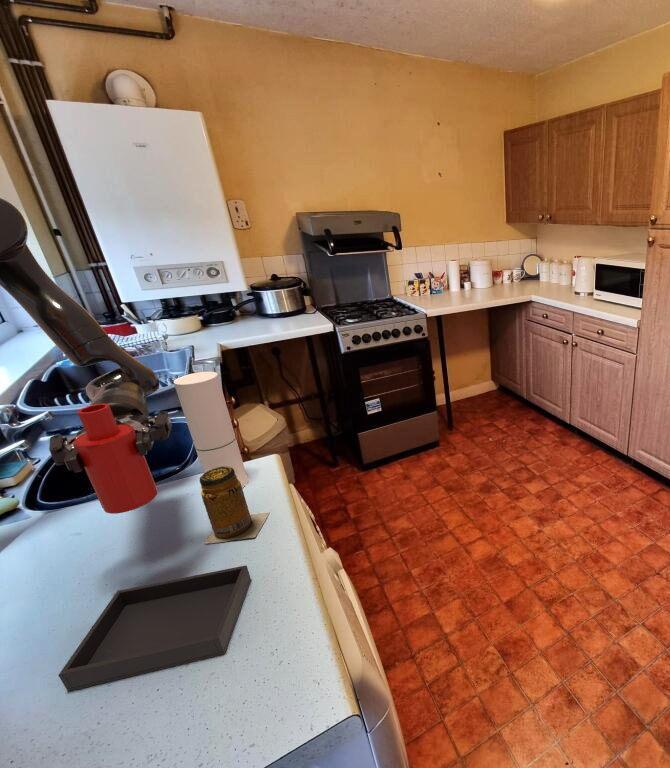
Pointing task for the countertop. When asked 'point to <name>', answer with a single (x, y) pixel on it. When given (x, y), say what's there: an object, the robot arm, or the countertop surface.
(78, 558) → the countertop surface
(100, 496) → the bottle
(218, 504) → the condiment
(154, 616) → the baking tray
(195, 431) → the cylindrical container
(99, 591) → the countertop surface
